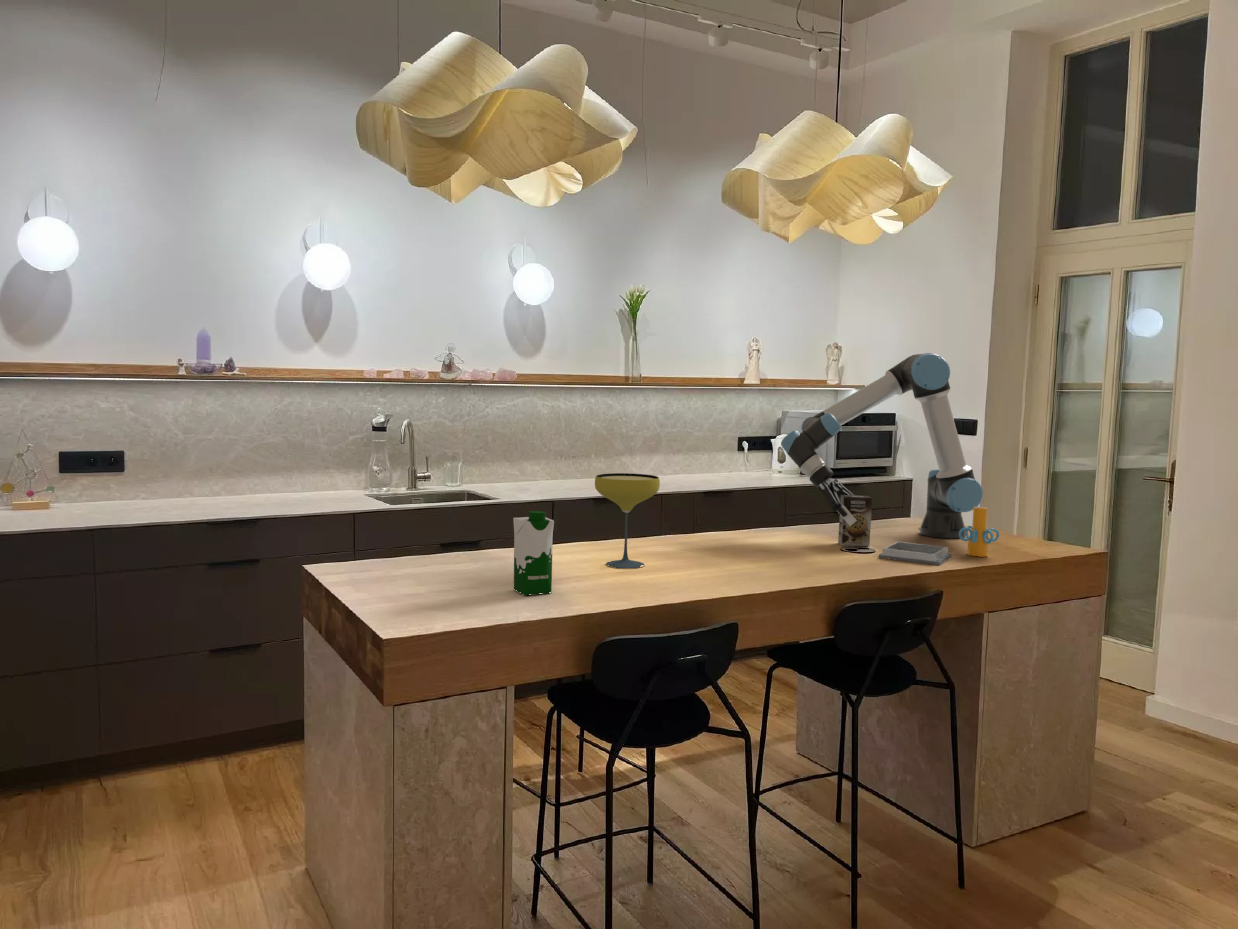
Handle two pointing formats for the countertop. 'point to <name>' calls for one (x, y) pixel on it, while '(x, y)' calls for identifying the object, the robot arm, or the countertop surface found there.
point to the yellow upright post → (978, 533)
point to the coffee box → (861, 528)
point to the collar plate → (916, 553)
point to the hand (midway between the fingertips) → (860, 521)
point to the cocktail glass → (626, 500)
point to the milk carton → (533, 553)
